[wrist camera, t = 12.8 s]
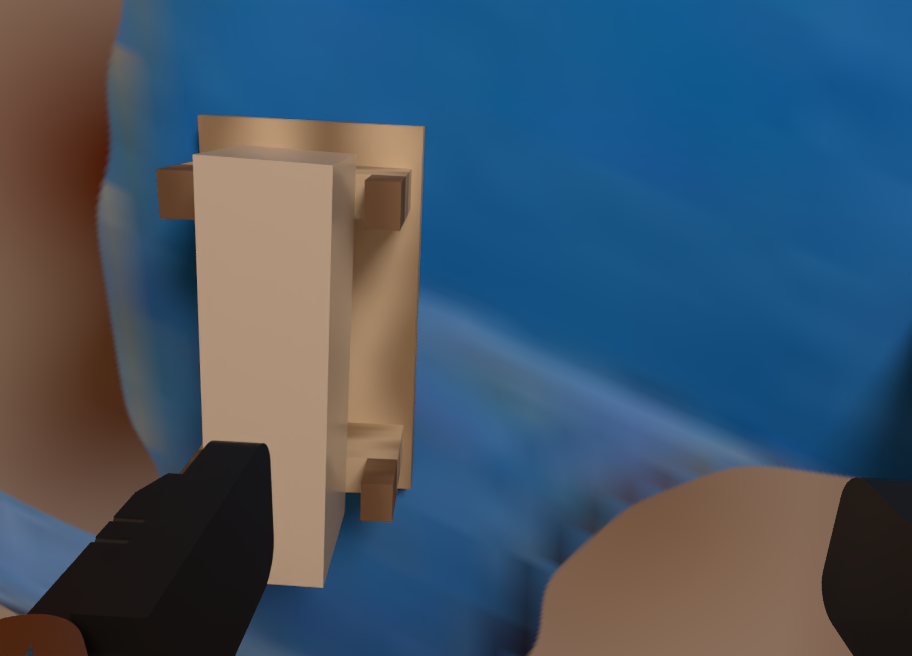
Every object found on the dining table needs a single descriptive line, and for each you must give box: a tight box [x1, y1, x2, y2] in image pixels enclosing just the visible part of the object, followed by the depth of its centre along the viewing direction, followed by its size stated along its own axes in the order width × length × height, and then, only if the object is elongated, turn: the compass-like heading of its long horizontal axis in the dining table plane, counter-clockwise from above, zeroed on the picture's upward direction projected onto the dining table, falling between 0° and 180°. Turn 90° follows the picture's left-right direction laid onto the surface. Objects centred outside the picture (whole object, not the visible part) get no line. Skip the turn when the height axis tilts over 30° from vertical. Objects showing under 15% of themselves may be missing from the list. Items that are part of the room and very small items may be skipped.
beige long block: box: [193, 145, 357, 588], centre depth 31 cm, size 5×18×6 cm, turn 176°
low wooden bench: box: [156, 115, 425, 522], centre depth 35 cm, size 11×20×8 cm, turn 177°
